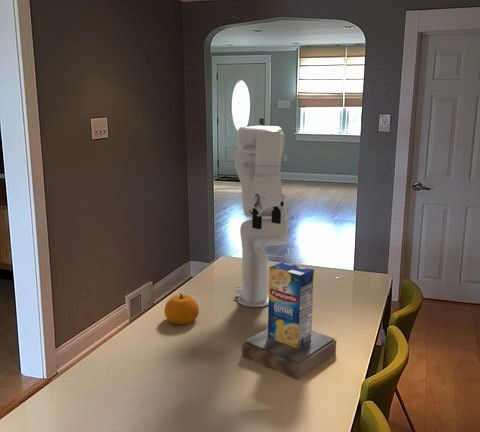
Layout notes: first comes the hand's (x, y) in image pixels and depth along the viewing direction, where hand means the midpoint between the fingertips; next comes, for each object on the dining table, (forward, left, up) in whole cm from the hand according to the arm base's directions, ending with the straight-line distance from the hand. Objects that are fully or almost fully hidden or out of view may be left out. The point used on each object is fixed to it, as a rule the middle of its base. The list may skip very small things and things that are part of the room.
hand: (266, 225), depth 159 cm
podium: (+14, -6, -36) cm, 39 cm away
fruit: (-28, -10, -37) cm, 47 cm away
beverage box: (+14, -6, -32) cm, 35 cm away
